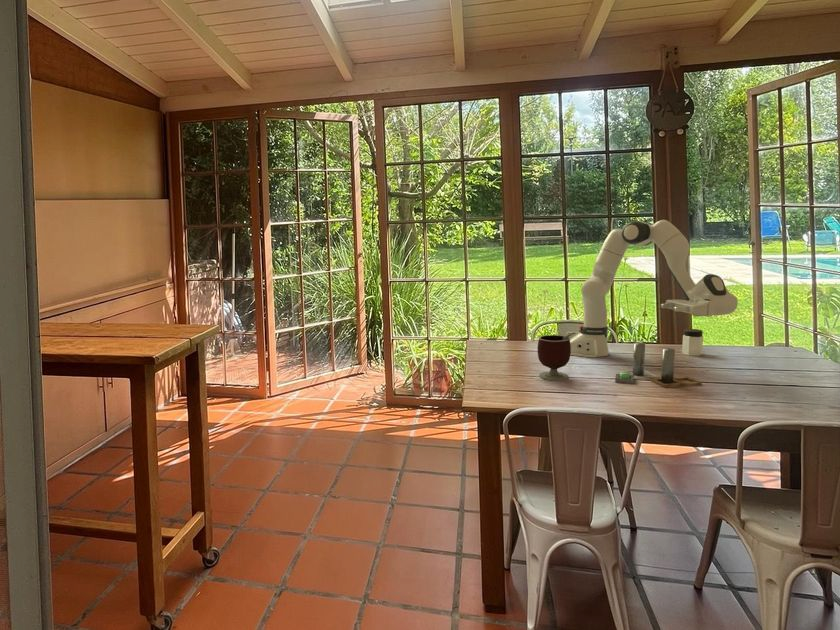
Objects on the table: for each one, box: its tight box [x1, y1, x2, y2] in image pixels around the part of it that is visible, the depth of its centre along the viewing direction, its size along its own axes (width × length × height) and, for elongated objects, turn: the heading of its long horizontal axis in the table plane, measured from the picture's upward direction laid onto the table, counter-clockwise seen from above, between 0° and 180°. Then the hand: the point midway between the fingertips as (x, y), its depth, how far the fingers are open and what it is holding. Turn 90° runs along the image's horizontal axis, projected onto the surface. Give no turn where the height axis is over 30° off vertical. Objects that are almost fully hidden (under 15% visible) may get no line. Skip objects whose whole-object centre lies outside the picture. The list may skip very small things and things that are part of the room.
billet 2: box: [660, 347, 676, 384], centre depth 211 cm, size 4×4×14 cm
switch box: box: [614, 373, 635, 385], centre depth 217 cm, size 7×7×3 cm
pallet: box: [650, 375, 703, 389], centre depth 212 cm, size 16×9×2 cm, turn 97°
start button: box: [619, 371, 631, 378], centre depth 217 cm, size 4×4×4 cm
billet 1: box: [632, 341, 646, 377], centre depth 225 cm, size 4×4×14 cm
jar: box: [681, 328, 704, 357], centre depth 262 cm, size 9×8×12 cm
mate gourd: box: [537, 331, 576, 382], centre depth 229 cm, size 16×14×20 cm
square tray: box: [619, 369, 659, 380], centre depth 226 cm, size 11×11×2 cm
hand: (668, 307), depth 223 cm, fingers open, 8 cm apart
